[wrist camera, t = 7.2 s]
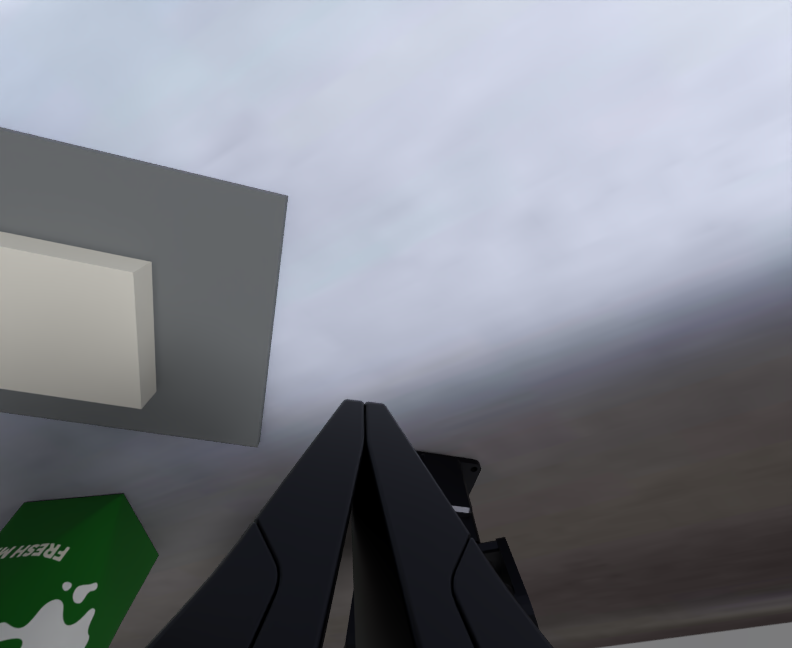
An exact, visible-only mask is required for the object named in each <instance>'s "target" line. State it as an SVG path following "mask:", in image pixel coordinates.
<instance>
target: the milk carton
mask: <svg viewBox="0 0 792 648" xmlns="http://www.w3.org/2000/svg"><path fill="white" fill-rule="evenodd" d="M158 556H159V555H158V553H157V551H156V550H155V548H154V546H153V544H152V543H151V541H150V539H149V537H148V536H147V534H146V532H145V530H144V529H143V527H142V525H141V523H140V522H139V520H138V518H137V516H136V515H135V513H134V511H133V509H132V508H131V506H130V504H129V502H128V501H127V499H126V497H125V495H124V494H114V495H103V496H92V497H81V498H70V499H59V500H48V501H37V502H26V503H23V505H22V506H21V507H20V508H19V510H18V511H17V512H16V513H15V515H14V516H13V517H12V518H11V519H10V521H9V522H8V523H7V524H6V526H5V527H4V528H3V529H2V530H1V532H0V648H108V647H109V645H110V643H111V641H112V639H113V637H114V636H115V634H116V632H117V630H118V628H119V626H120V624H121V622H122V620H123V618H124V617H125V615H126V613H127V611H128V610H129V608H130V606H131V604H132V602H133V601H134V599H135V597H136V595H137V593H138V592H139V590H140V588H141V586H142V584H143V583H144V581H145V579H146V577H147V575H148V574H149V572H150V570H151V568H152V566H153V565H154V563H155V561H156V559H157V557H158Z"/></svg>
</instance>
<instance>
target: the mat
mask: <svg viewBox="0 0 792 648" xmlns="http://www.w3.org/2000/svg"><path fill="white" fill-rule="evenodd" d="M287 201H288V196H286V195H282V194H278V193H274V192H269V191H265V190H261V189H257V188H253V187H248V186H244V185H240V184H236V183H232V182H227V181H223V180H219V179H215V178H211V177H207V176H202V175H198V174H194V173H190V172H186V171H181V170H177V169H173V168H169V167H165V166H160V165H156V164H152V163H148V162H144V161H140V160H135V159H131V158H127V157H123V156H119V155H114V154H110V153H106V152H102V151H98V150H93V149H89V148H85V147H81V146H77V145H73V144H68V143H64V142H60V141H56V140H52V139H47V138H43V137H39V136H35V135H31V134H27V133H22V132H18V131H14V130H10V129H6V128H1V127H0V231H1V232H6V233H11V234H16V235H21V236H26V237H31V238H36V239H41V240H46V241H51V242H55V243H60V244H65V245H70V246H75V247H80V248H85V249H90V250H95V251H100V252H105V253H110V254H115V255H120V256H125V257H130V258H135V259H140V260H145V261H150V262H152V286H153V313H154V339H155V366H156V393H155V394H154V395H153V396H152V397H151V398H150V400H149V401H148V402H147V403H146V404H145V406H144V407H143V408H142V409H137V408H130V407H123V406H116V405H109V404H103V403H96V402H89V401H82V400H75V399H68V398H61V397H55V396H48V395H41V394H34V393H27V392H20V391H14V390H7V389H0V412H4V413H11V414H18V415H26V416H33V417H40V418H47V419H55V420H62V421H69V422H76V423H84V424H91V425H98V426H105V427H113V428H120V429H127V430H134V431H142V432H149V433H156V434H163V435H171V436H178V437H185V438H192V439H200V440H207V441H214V442H221V443H229V444H236V445H243V446H250V447H258V444H259V442H260V435H261V426H262V418H263V409H264V400H265V392H266V383H267V374H268V366H269V357H270V348H271V340H272V331H273V322H274V314H275V305H276V296H277V288H278V279H279V270H280V262H281V253H282V244H283V236H284V227H285V218H286V210H287Z"/></svg>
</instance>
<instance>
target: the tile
mask: <svg viewBox="0 0 792 648" xmlns="http://www.w3.org/2000/svg"><path fill="white" fill-rule="evenodd" d="M0 389H7V390H14V391H20V392H27V393H34V394H41V395H48V396H55V397H61V398H68V399H75V400H82V401H89V402H96V403H103V404H109V405H116V406H123V407H130V408H137V409H142V408H143V407H144V406H145V404H146V403H147V402H148V401H149V400H150V398H151V397H152V396H153V395H154V394H155V393H156V366H155V339H154V313H153V286H152V262H150V261H145V260H140V259H135V258H130V257H125V256H120V255H115V254H110V253H105V252H100V251H95V250H90V249H85V248H80V247H75V246H70V245H65V244H60V243H55V242H51V241H46V240H41V239H36V238H31V237H26V236H21V235H16V234H11V233H6V232H1V231H0Z"/></svg>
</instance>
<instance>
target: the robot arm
mask: <svg viewBox="0 0 792 648" xmlns="http://www.w3.org/2000/svg"><path fill="white" fill-rule="evenodd" d="M480 471H481V467H480V463H479V462H478V461H477V460H473V459H466V458H459V457H452V456H445V455H438V454H431V453H424V452H418V451H415V449H414V448H413V446H412V445H411V443H410V442H409V440H408V439H407V437H406V436H405V434H404V433H403V431H402V430H401V428H400V427H399V425H398V424H397V422H396V421H395V419H394V418H393V416H392V414H391V413H390V411H389V410H388V408H387V407H386V406H385V405H384V404H383V403H375V402H366V403H365V404H364V403H363V402H362V401H358V400H350V399H346V400H344V401H343V402H342V403H341V405H340V406H339V407H338V409H337V410H336V411H335V413H334V414H333V415H332V417H331V418H330V419H329V421H328V422H327V423H326V425H325V426H324V427H323V429H322V430H321V431H320V433H319V434H318V435H317V437H316V438H315V439H314V441H313V442H312V443H311V445H310V446H309V447H308V449H307V450H306V451H305V453H304V454H303V455H302V457H301V458H300V459H299V461H298V462H297V463H296V465H295V466H294V467H293V469H292V470H291V471H290V473H289V474H288V475H287V477H286V478H285V479H284V481H283V482H282V483H281V485H280V486H279V487H278V489H277V490H276V491H275V493H274V494H273V495H272V497H271V498H270V499H269V501H268V502H267V503H266V505H265V506H264V507H263V509H262V510H261V511H260V513H259V514H258V515H257V517H256V518H255V521H254V522H253V523H251V524H250V526H249V527H248V528H247V530H246V531H245V532H244V534H243V535H242V536H241V538H240V539H239V540H238V542H237V543H236V544H235V546H234V547H233V548H232V549H231V551H230V552H229V553H228V554H227V556H226V557H225V558H224V559H223V561H222V562H221V563H220V564H219V566H218V567H217V568H216V569H215V571H214V572H213V573H212V574H211V576H210V577H209V578H208V579H207V580H206V581H205V582H204V583H203V585H202V586H201V587H200V588H199V589H198V590H197V591H196V592H195V594H194V595H193V596H192V597H191V598H190V599H189V600H188V601H187V603H186V604H185V605H184V606H183V607H182V608H181V609H180V611H179V612H178V613H177V614H176V615H175V616H174V617H173V618H172V619H171V620H170V621H169V622H168V623H167V625H166V626H165V627H164V628H163V629H162V630H161V631H160V632H159V633H158V634H157V635H156V636H155V638H154V639H153V640H152V641H151V642H150V643H149V644H148V645H147V646H146V647H145V648H322V647H323V642H324V638H325V633H326V628H327V623H328V619H329V614H330V609H331V604H332V600H333V595H334V590H335V585H336V581H337V576H338V571H339V566H340V562H341V557H342V552H343V547H344V543H345V538H346V533H347V528H348V524H349V519H350V514H351V509H352V551H353V583H354V591H353V597H352V604H351V610H350V616H349V623H348V629H347V635H346V642H345V646H344V648H553V647H552V645H551V644H550V643H549V642H548V640H547V639H546V638H545V637H544V635H543V634H542V633H541V632H540V630H539V628H538V624H537V621H536V618H535V615H534V611H533V608H532V605H531V603H530V600H529V597H528V594H527V592H526V589H525V587H524V584H523V582H522V579H521V577H520V574H519V572H518V569H517V566H516V564H515V561H514V559H513V556H512V554H511V551H510V549H509V546H508V544H507V541H506V539H505V537H503V538H497V539H496V541H490V542H484V543H480V539H479V535H478V531H477V527H476V524H475V520H474V516H473V512H472V506H471V502H470V498H469V494H470V492H471V490H472V488H473V486H474V483H475V481H476V479H477V477H478V475H479V473H480Z"/></svg>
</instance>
